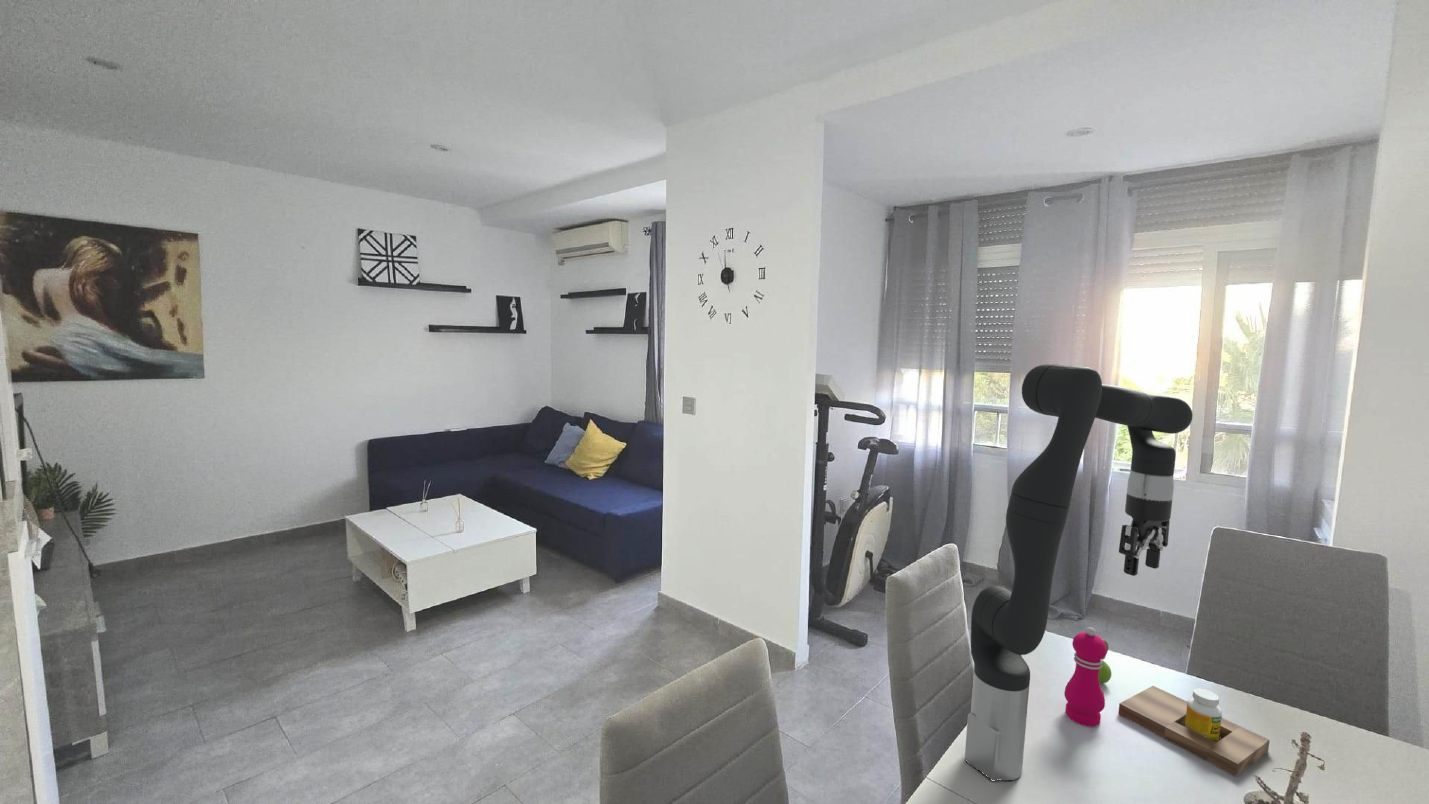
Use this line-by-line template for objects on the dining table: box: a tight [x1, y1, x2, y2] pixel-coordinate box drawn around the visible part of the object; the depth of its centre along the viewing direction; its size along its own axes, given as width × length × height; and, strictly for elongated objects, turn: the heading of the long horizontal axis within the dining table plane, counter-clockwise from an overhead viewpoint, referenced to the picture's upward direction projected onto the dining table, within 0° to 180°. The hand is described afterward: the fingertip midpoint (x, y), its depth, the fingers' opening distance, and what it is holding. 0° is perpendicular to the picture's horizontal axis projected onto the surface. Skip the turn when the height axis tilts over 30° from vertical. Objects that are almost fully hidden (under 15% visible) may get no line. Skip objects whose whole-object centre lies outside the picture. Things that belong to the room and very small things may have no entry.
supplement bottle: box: [1184, 688, 1223, 743], centre depth 117 cm, size 5×5×10 cm
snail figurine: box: [1099, 638, 1112, 685], centre depth 136 cm, size 5×6×12 cm
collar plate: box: [1118, 685, 1270, 777], centre depth 119 cm, size 14×20×2 cm
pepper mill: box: [1064, 626, 1108, 728], centre depth 122 cm, size 7×7×20 cm
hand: (1141, 570), depth 121 cm, fingers open, 8 cm apart
